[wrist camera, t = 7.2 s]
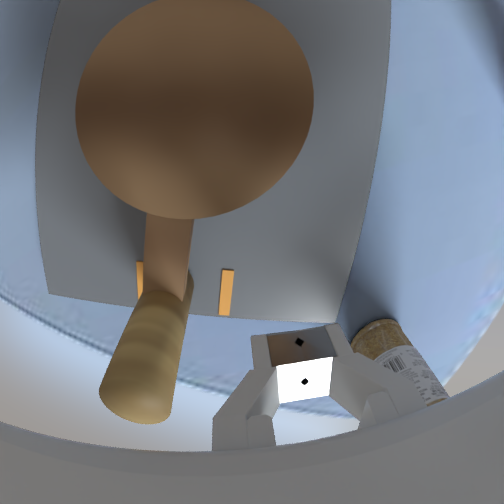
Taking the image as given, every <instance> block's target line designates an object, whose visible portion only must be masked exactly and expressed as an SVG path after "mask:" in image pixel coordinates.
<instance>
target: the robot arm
mask: <svg viewBox="0 0 504 504" xmlns="http://www.w3.org/2000/svg"><path fill="white" fill-rule="evenodd" d="M251 346H252V355H253V365H254V370H249V372H248V373H247V374H246V376H245V377H244V378H243V380H242V381H241V382H240V384H239V385H238V386H237V388H236V389H235V390H234V392H233V393H232V394H231V395H230V397H229V398H228V399H227V401H226V402H225V403H224V405H223V406H222V407H221V408H220V410H219V411H218V412H217V413H216V415H215V416H214V417H213V429H212V431H213V432H212V451H202V452H175V451H151V450H150V451H149V450H136V449H125V448H116V447H108V446H101V445H93V444H88V443H82V442H76V441H71V440H66V439H61V438H56V437H52V436H48V435H44V434H40V433H36V432H32V431H29V430H25V429H21V428H19V427H15V426H12V425H9V424H6V423H3V422H1V421H0V504H504V370H503V371H502V372H500V373H498V374H496V375H494V376H493V377H491V378H489V379H487V380H485V381H483V382H481V383H479V384H477V385H475V386H473V387H471V388H469V389H467V390H465V391H463V392H461V393H459V394H457V395H454V396H452V397H450V398H448V399H445V400H443V401H440V402H438V403H436V404H433V405H431V406H428V407H427V405H426V403H425V402H424V400H423V398H422V396H421V395H420V393H419V391H418V390H417V388H416V386H415V385H414V383H413V381H411V380H409V379H408V378H406V377H404V376H402V375H400V374H398V373H396V372H394V371H392V370H390V369H388V368H386V367H384V366H383V365H381V364H379V363H377V362H375V361H373V360H371V359H369V358H368V357H366V356H364V355H362V354H360V353H358V352H357V353H354V352H353V350H352V348H351V346H350V344H349V342H348V340H347V338H346V336H345V335H344V333H343V331H342V329H341V327H340V325H339V324H338V323H334V324H329V325H324V326H321V327H315V328H309V329H303V330H296V331H288V332H279V333H270V334H263V335H254V336H251ZM324 395H329V396H330V397H331V398H332V399H333V400H335V401H336V402H337V403H338V404H340V405H341V406H342V407H343V408H344V409H346V410H347V411H348V412H349V413H351V414H352V415H353V416H354V417H355V418H357V419H358V420H359V421H360V423H359V427H358V430H355V431H351V432H347V433H343V434H338V435H335V436H330V437H325V438H320V439H315V440H309V441H304V442H298V443H292V444H285V445H278V446H276V442H275V435H274V429H273V423H272V418H273V417H274V415H275V413H276V411H277V409H278V407H279V405H280V403H284V402H289V401H295V400H300V399H306V398H312V397H318V396H324Z"/></svg>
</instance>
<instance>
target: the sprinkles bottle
mask: <svg viewBox="0 0 504 504" xmlns="http://www.w3.org/2000/svg"><path fill="white" fill-rule="evenodd" d="M351 348H352V350H353V352H354V353H357V352H358V353H360V354H362V355H364V356H366V357H368V358H369V359H371V360H373V361H375V362H377V363H379V364H381V365H383V366H384V367H386V368H388V369H390V370H392V371H394V372H396V373H398V374H400V375H402V376H404V377H406V378H408V379H409V380H411V381H413V383H414V385H415V386H416V388H417V390H418V391H419V393H420V395H421V396H422V398H423V400H424V402H425V403H426V405H427V407H428V406H431V405H433V404H436V403H438V402H440V401H443V400H445V399H448V398H450V397H449V396H448V394H447V392H445V390H444V388H443V387H442V385H441V384H440V382H439V381H438V379H437V378H436V376H435V375H434V373H433V372H432V370H431V369H430V368H429V366H428V365H427V363H426V362H425V360H424V359H423V358H422V356H421V355H420V353H419V352H418V350H417V349H416V348H414V347H413V345H412V344H411V342H410V341H409V340H408V338H407V337H406V336H405V334H404V333H403V331H402V329H401V326H400V325H399V324H398V323H397V322H396V321H394V320H392V319H381V320H377V321H373V322H371V323H369V324H368V325H367V326H365V327H364V328H363V329H361V330H360V331H359V332H358V333H357V335H356V336H355V337H354V339H353V340H352V343H351Z"/></svg>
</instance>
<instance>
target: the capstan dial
mask: <svg viewBox="0 0 504 504" xmlns="http://www.w3.org/2000/svg"><path fill="white" fill-rule="evenodd" d="M313 108H314V89H313V82H312V76H311V72H310V69H309V65H308V62H307V60H306V58H305V55H304V53H303V51H302V49H301V47H300V46H299V44H298V43H297V41H296V40H295V38H294V37H293V35H292V34H291V33H290V32H289V31H288V29H287V28H286V27H285V26H284V25H283V24H282V23H281V22H280V21H279V20H277V19H276V18H275V17H274V16H273V15H271V14H270V13H268V12H267V11H265V10H264V9H262V8H260V7H259V6H257V5H255V4H253V3H250V2H248V1H246V0H157V1H154V2H151V3H149V4H147V5H145V6H143V7H141V8H139V9H137V10H136V11H134V12H133V13H131V14H130V15H128V16H127V17H125V18H124V19H123V20H121V21H120V22H119V23H118V24H117V25H116V26H114V27H113V28H112V29H111V30H110V31H109V32H108V33H107V35H106V36H105V37H104V38H103V39H102V40H101V42H100V43H99V44H98V46H97V47H96V48H95V50H94V51H93V53H92V55H91V57H90V58H89V60H88V62H87V64H86V66H85V69H84V71H83V74H82V76H81V79H80V83H79V87H78V91H77V96H76V105H75V122H76V129H77V135H78V139H79V143H80V146H81V149H82V152H83V154H84V156H85V158H86V161H87V163H88V164H89V166H90V168H91V169H92V171H93V172H94V174H95V175H96V176H97V178H98V179H99V180H100V181H101V182H102V184H103V185H104V186H105V187H106V188H107V189H108V190H110V191H111V192H112V193H113V194H114V195H115V196H117V197H118V198H120V199H121V200H122V201H124V202H125V203H127V204H129V205H131V206H133V207H135V208H137V209H139V210H141V211H144V212H147V217H146V230H145V244H144V263H143V292H142V294H141V296H140V298H139V300H138V302H137V304H136V306H135V308H134V310H133V312H132V314H131V316H130V319H129V321H128V323H127V325H126V327H125V329H124V332H123V334H122V336H121V338H120V340H119V343H118V345H117V347H116V349H115V352H114V354H113V356H112V359H111V361H110V364H109V366H108V368H107V370H106V373H105V375H104V378H103V380H102V383H101V385H100V388H99V395H100V398H101V400H102V402H103V403H104V404H105V406H106V407H107V408H108V409H110V410H111V411H112V412H113V413H115V414H116V415H118V416H120V417H121V418H124V419H126V420H129V421H131V422H135V423H140V424H156V423H160V422H162V421H165V420H166V419H167V418H168V417H169V416H170V413H171V407H172V401H173V395H174V389H175V383H176V377H177V372H178V366H179V361H180V355H181V350H182V345H183V339H184V334H185V329H186V324H187V319H188V314H189V309H190V304H191V300H192V295H193V290H194V281H193V278H192V276H191V274H190V273H189V271H188V265H189V257H190V249H191V241H192V234H193V226H194V219H201V218H207V217H213V216H217V215H221V214H224V213H228V212H231V211H233V210H235V209H238V208H240V207H242V206H245V205H246V204H248V203H250V202H252V201H253V200H255V199H257V198H258V197H260V196H261V195H262V194H264V193H265V192H266V191H268V190H269V189H270V188H272V187H273V186H274V185H275V184H276V183H277V182H278V181H279V180H280V179H281V178H282V177H283V176H284V174H285V173H286V172H287V171H288V169H289V168H290V167H291V166H292V165H293V163H294V161H295V160H296V158H297V156H298V155H299V153H300V151H301V149H302V147H303V145H304V143H305V140H306V138H307V136H308V132H309V129H310V125H311V122H312V115H313Z"/></svg>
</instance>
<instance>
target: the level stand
mask: <svg viewBox="0 0 504 504" xmlns="http://www.w3.org/2000/svg"><path fill="white" fill-rule="evenodd" d="M154 1H157V0H60V3H59V6H58V9H57V12H56V16H55V19H54V23H53V27H52V31H51V35H50V39H49V43H48V48H47V53H46V58H45V63H44V68H43V74H42V81H41V88H40V95H39V104H38V115H37V128H36V151H35V178H36V202H37V216H38V227H39V236H40V244H41V251H42V258H43V265H44V271H45V276H46V282H47V287H48V292H49V294H53V295H58V296H64V297H69V298H75V299H81V300H87V301H93V302H99V303H106V304H113V305H120V306H127V307H134V308H135V306H136V304H137V302H138V300H139V298H140V296H141V294H142V292H143V263H144V244H145V230H146V217H147V212H144V211H141V210H139V209H137V208H135V207H133V206H131V205H129V204H127V203H125V202H124V201H122V200H121V199H120V198H118V197H117V196H115V195H114V194H113V193H112V192H111V191H110V190H108V189H107V188H106V187H105V186H104V185H103V184H102V182H101V181H100V180H99V179H98V178H97V176H96V175H95V174H94V172H93V171H92V169H91V168H90V166H89V164H88V163H87V161H86V158H85V156H84V154H83V152H82V149H81V146H80V143H79V139H78V135H77V129H76V122H75V105H76V96H77V91H78V87H79V83H80V79H81V76H82V74H83V71H84V69H85V66H86V64H87V62H88V60H89V58H90V57H91V55H92V53H93V51H94V50H95V48H96V47H97V46H98V44H99V43H100V42H101V40H102V39H103V38H104V37H105V36H106V35H107V33H108V32H109V31H110V30H111V29H112V28H113V27H114V26H116V25H117V24H118V23H119V22H120V21H121V20H123V19H124V18H125V17H127V16H128V15H130V14H131V13H133V12H134V11H136V10H137V9H139V8H141V7H143V6H145V5H147V4H149V3H151V2H154ZM246 1H248V2H250V3H253V4H255V5H257V6H259V7H260V8H262V9H264V10H265V11H267V12H268V13H270V14H271V15H273V16H274V17H275V18H276V19H277V20H279V21H280V22H281V23H282V24H283V25H284V26H285V27H286V28H287V29H288V31H289V32H290V33H291V34H292V35H293V37H294V38H295V40H296V41H297V43H298V44H299V46H300V47H301V49H302V51H303V53H304V55H305V58H306V60H307V62H308V65H309V69H310V72H311V76H312V82H313V89H314V108H313V115H312V122H311V125H310V129H309V132H308V136H307V138H306V140H305V143H304V145H303V147H302V149H301V151H300V153H299V155H298V156H297V158H296V160H295V161H294V163H293V165H292V166H291V167H290V168H289V169H288V171H287V172H286V173H285V174H284V176H283V177H282V178H281V179H280V180H279V181H278V182H277V183H276V184H275V185H274V186H273V187H272V188H270V189H269V190H268V191H266V192H265V193H264V194H262V195H261V196H260V197H258V198H257V199H255V200H253V201H252V202H250V203H248V204H246V205H245V206H242V207H240V208H238V209H235V210H233V211H231V212H228V213H224V214H221V215H217V216H213V217H207V218H201V219H194V226H193V234H192V241H191V249H190V257H189V265H188V271H189V273H190V274H191V276H192V278H193V281H194V290H193V295H192V300H191V304H190V309H189V314H194V315H204V316H216V317H228V318H241V319H255V320H272V321H292V322H318V323H335V321H336V318H337V315H338V312H339V309H340V305H341V302H342V299H343V296H344V292H345V289H346V285H347V282H348V278H349V275H350V271H351V268H352V264H353V260H354V257H355V253H356V249H357V245H358V241H359V237H360V233H361V229H362V225H363V220H364V216H365V211H366V207H367V202H368V198H369V193H370V188H371V183H372V178H373V173H374V167H375V162H376V156H377V150H378V144H379V138H380V131H381V125H382V117H383V110H384V102H385V93H386V84H387V74H388V62H389V48H390V29H391V0H246Z"/></svg>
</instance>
